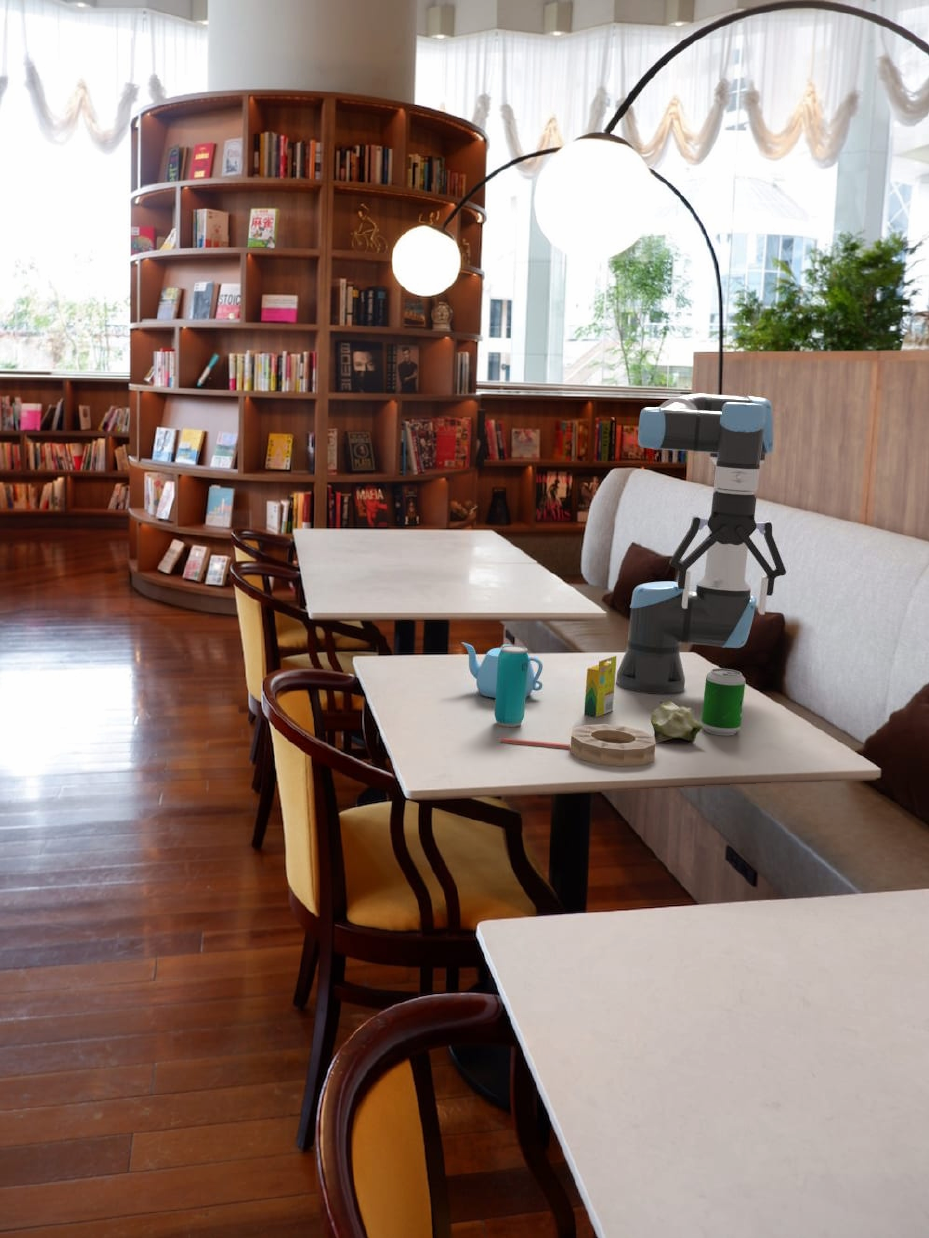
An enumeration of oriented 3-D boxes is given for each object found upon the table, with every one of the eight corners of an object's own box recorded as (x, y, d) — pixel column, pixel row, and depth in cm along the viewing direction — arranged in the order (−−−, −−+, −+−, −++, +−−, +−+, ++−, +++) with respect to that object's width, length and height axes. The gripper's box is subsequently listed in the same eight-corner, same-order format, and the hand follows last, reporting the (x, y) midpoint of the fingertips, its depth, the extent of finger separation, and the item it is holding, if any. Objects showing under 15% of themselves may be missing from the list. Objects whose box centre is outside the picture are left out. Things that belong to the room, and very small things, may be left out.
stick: (501, 740, 219) (501, 737, 219) (569, 747, 218) (569, 744, 218) (500, 742, 218) (500, 739, 218) (569, 748, 217) (569, 745, 217)
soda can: (740, 738, 230) (746, 678, 228) (700, 734, 232) (706, 674, 229) (739, 728, 237) (745, 669, 235) (700, 723, 239) (707, 665, 236)
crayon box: (600, 708, 246) (605, 653, 244) (613, 711, 244) (618, 655, 242) (582, 714, 240) (587, 658, 238) (595, 718, 238) (600, 661, 236)
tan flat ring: (572, 736, 225) (573, 721, 224) (652, 744, 223) (654, 728, 222) (568, 760, 210) (570, 744, 209) (654, 769, 208) (656, 752, 208)
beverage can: (527, 722, 232) (532, 647, 229) (518, 729, 227) (524, 653, 224) (499, 718, 234) (504, 643, 231) (489, 725, 229) (495, 649, 226)
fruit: (644, 738, 231) (650, 697, 231) (691, 745, 231) (698, 704, 231) (651, 743, 222) (658, 701, 222) (701, 751, 222) (707, 708, 222)
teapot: (468, 634, 258) (550, 643, 254) (465, 682, 260) (546, 691, 256) (453, 645, 246) (539, 655, 242) (450, 695, 248) (535, 706, 244)
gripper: (664, 488, 207) (653, 608, 211) (811, 498, 205) (797, 619, 209) (662, 485, 214) (651, 600, 218) (803, 494, 212) (790, 611, 216)
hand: (722, 610), depth 214 cm, fingers open, 13 cm apart
